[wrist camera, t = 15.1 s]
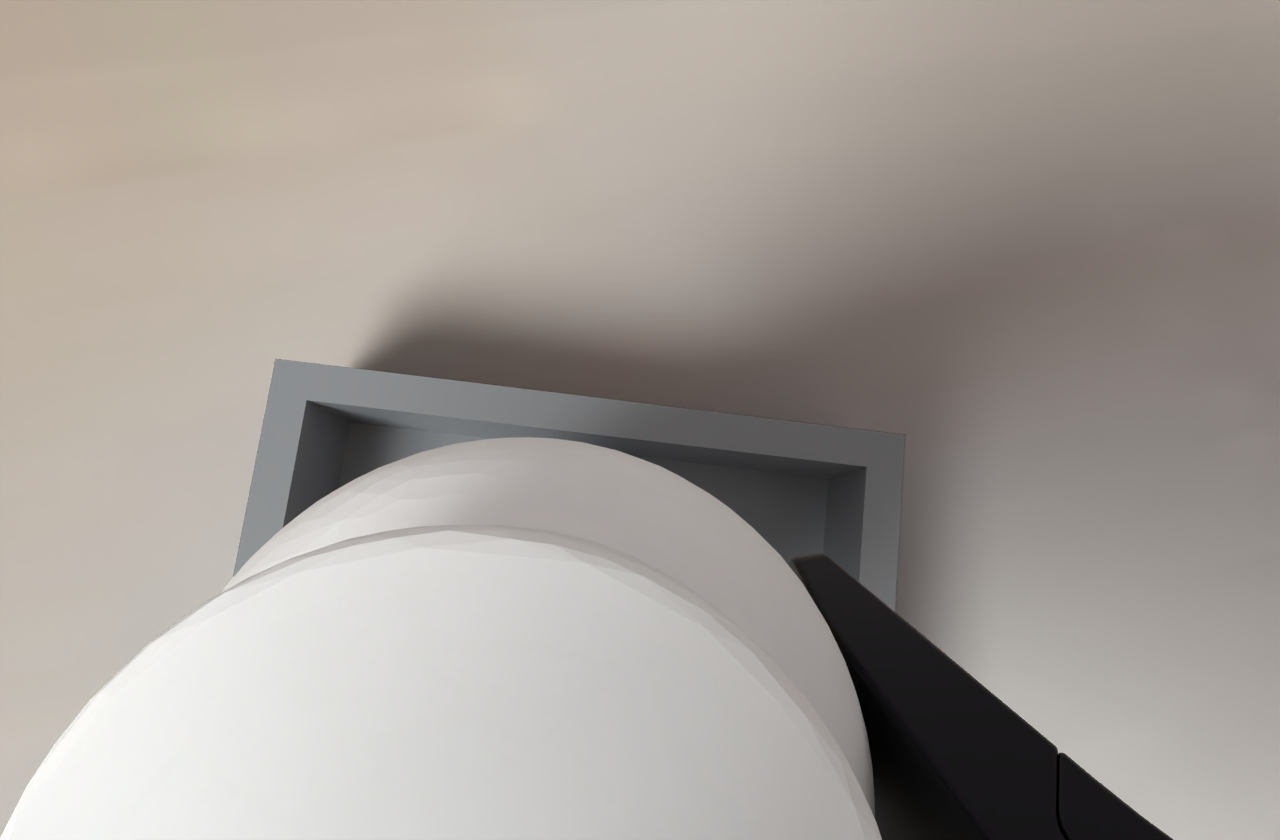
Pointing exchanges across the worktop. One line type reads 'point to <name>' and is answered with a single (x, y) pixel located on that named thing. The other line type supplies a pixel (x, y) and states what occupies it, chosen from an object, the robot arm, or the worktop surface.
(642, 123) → the worktop surface
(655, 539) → the supplement bottle
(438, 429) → the box
